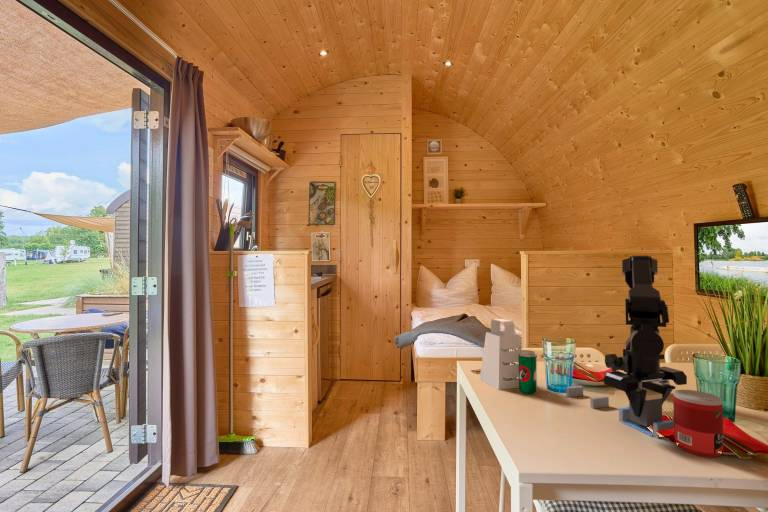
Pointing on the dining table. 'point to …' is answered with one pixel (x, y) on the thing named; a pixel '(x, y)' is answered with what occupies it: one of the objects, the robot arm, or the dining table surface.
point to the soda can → (527, 372)
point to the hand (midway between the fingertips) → (645, 415)
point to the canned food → (698, 422)
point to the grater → (501, 356)
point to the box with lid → (649, 409)
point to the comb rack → (621, 412)
